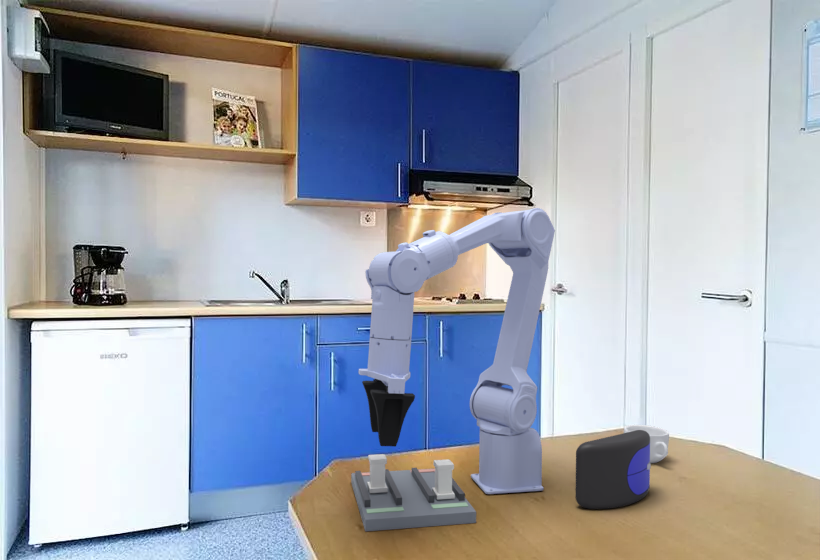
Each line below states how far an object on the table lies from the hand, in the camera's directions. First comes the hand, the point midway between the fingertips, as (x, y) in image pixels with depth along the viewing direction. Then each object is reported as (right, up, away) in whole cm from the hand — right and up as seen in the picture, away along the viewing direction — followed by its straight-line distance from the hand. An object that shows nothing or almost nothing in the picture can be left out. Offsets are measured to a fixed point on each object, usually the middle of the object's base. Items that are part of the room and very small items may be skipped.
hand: (383, 438), depth 79 cm
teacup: (+47, -12, +27) cm, 55 cm away
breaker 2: (+8, -9, +4) cm, 13 cm away
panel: (+3, -11, +6) cm, 13 cm away
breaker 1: (-1, -9, +7) cm, 11 cm away
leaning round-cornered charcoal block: (+34, -12, +9) cm, 37 cm away
